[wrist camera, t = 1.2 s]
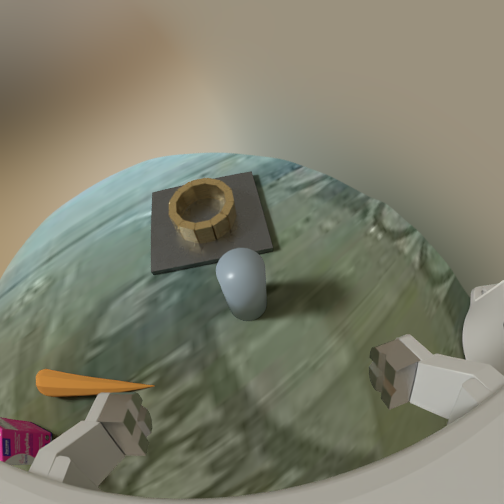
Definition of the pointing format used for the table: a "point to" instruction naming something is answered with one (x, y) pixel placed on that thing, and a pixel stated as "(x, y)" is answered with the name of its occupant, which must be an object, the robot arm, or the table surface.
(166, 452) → the table surface
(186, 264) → the mounting plate
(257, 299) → the grey capsule peg
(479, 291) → the robot arm
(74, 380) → the carrot
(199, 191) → the brass socket
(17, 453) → the supplement box
